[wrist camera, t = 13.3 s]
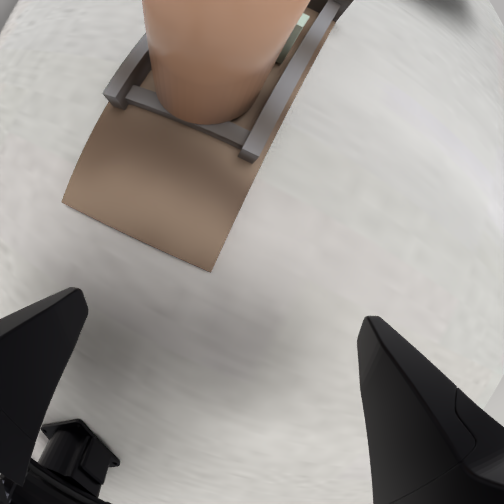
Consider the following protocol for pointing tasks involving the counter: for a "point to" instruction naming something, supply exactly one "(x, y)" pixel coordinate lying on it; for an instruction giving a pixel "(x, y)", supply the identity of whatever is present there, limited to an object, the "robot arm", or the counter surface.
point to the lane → (185, 153)
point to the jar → (215, 53)
